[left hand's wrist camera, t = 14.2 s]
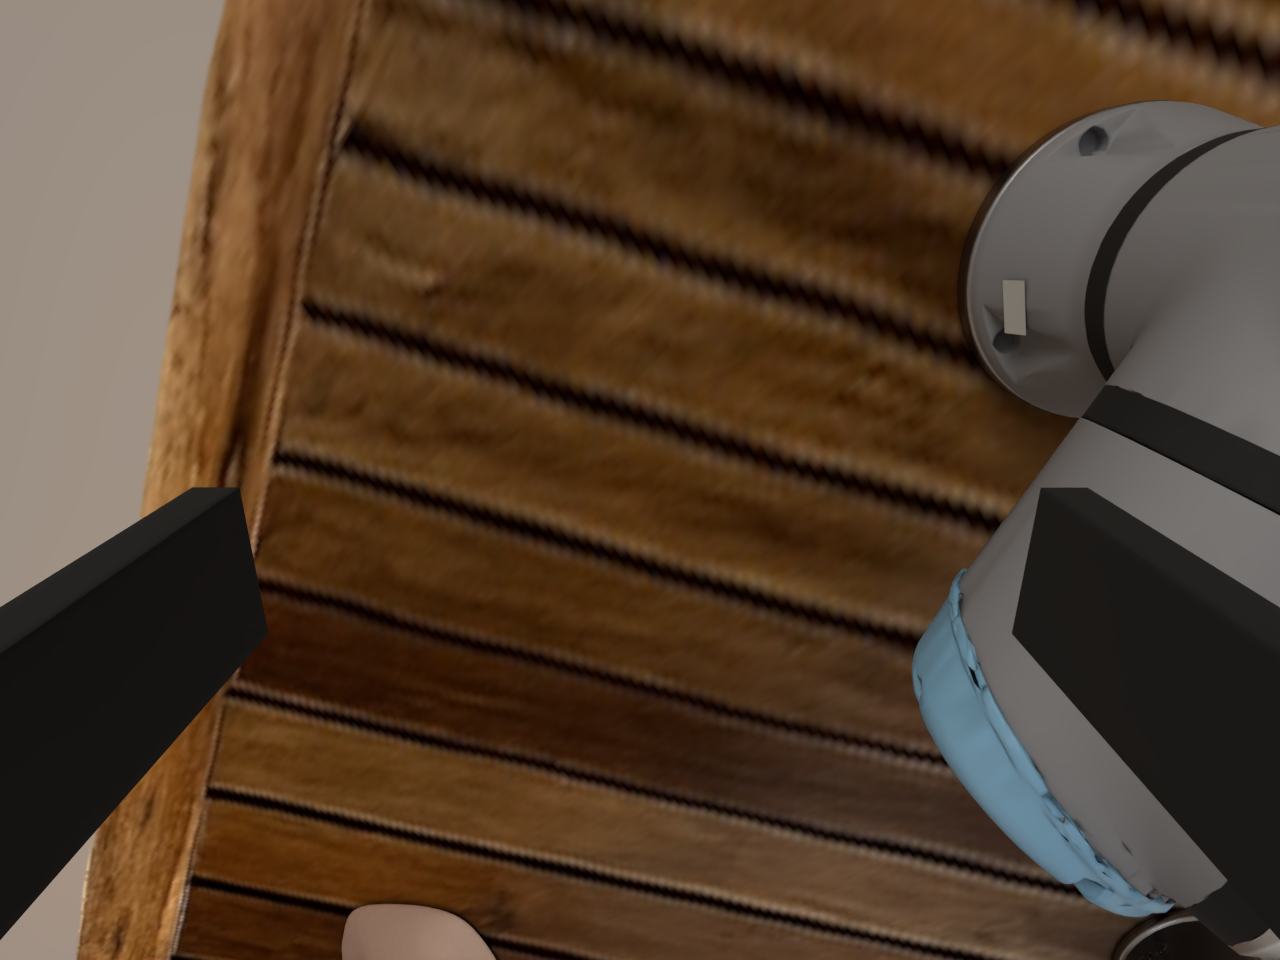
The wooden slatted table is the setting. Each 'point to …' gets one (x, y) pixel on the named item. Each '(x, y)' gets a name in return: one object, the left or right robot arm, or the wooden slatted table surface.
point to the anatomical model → (410, 935)
